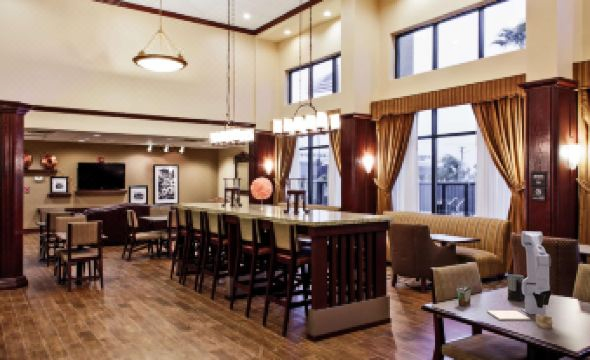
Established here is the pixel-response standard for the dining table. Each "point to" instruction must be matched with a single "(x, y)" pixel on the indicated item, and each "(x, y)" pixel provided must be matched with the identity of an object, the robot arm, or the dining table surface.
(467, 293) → the food container
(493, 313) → the painted board
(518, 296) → the milk frother
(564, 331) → the dining table surface
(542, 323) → the oak cube
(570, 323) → the dining table surface
